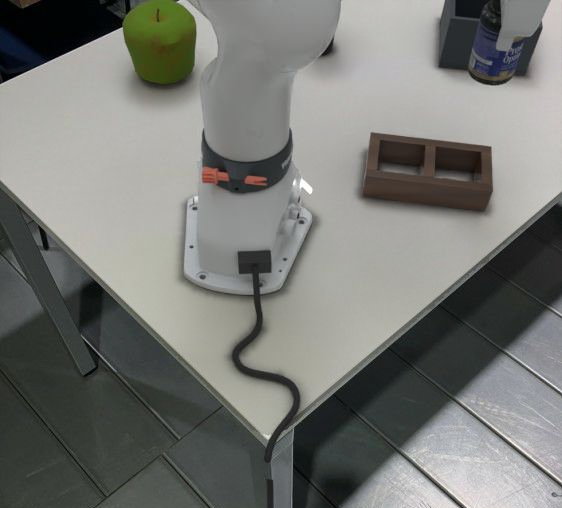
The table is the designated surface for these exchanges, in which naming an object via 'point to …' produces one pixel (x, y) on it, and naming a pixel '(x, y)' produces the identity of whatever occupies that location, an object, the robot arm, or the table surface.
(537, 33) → the open square box
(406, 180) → the brown wooden caddy
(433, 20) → the table surface
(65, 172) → the table surface
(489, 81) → the pill bottle
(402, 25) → the table surface
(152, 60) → the apple
